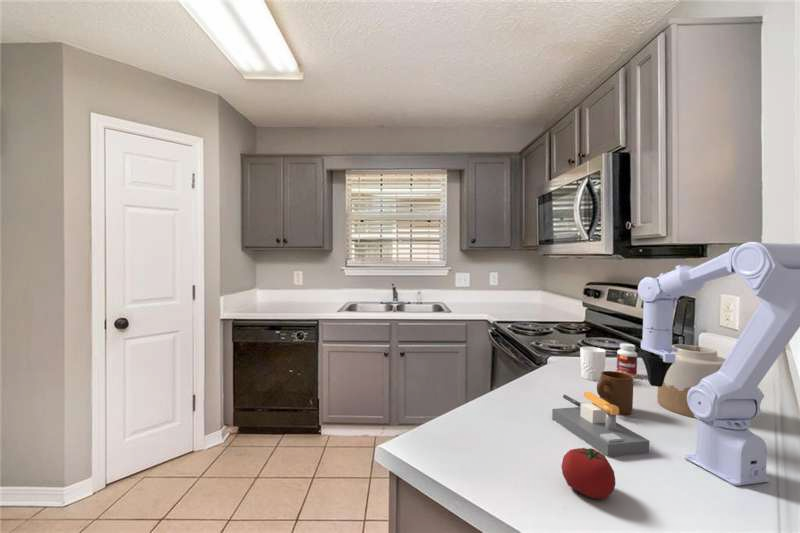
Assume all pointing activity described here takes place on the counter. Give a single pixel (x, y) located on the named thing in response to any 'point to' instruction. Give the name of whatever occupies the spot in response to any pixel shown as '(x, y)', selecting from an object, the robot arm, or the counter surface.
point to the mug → (617, 390)
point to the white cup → (592, 362)
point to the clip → (602, 403)
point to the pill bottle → (627, 360)
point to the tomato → (588, 472)
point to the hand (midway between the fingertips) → (655, 385)
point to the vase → (687, 376)
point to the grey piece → (602, 433)
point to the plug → (589, 411)
